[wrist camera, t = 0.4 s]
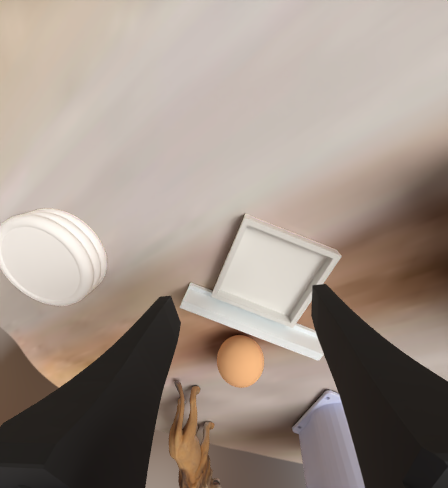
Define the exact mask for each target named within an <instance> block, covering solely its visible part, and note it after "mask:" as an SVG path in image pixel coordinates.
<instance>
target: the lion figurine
mask: <svg viewBox="0 0 448 488" xmlns="http://www.w3.org/2000/svg"><path fill="white" fill-rule="evenodd" d="M174 383H175V386H176V388H177V390H178V392H179V394H180V398H179V399H178V406H177V412H176V416H175V419H174V422H173V424H172V427H171V429H170V434H169V452H170V456H171V457H172V458H173V459H175V460H176V462H177V464H178V467H179V486H180V488H221V486H220V480H219V479H218V478H216V479H212V472H213V471H212V470H211V468H210V458H209V456H208V450H209V430H211V429H213V427H214V423H212V422H206V423H205V425H204V429H203V441H202V443H201V445H200V444H199V440H198V438H197V437H196V433H197V431H198V429H199V426H198V425H197V407H196V395H197V394H198V393H199V392H200V388H199V387H198V386H193V387H192V389H191V394H190V414H189V418H188V421H187V423H186V425H185V427H184V428H183V429H182V422H183V415H184V406H185V403H186V401H185V399H184V394H183V390H182V386H181V383H180V382H179V381H175V382H174Z"/></svg>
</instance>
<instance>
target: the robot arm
mask: <svg viewBox="0 0 448 488" xmlns="http://www.w3.org/2000/svg"><path fill="white" fill-rule="evenodd" d="M311 316H312V319H313V323H314V327H315V331H316V334H317V337H318V340H319V343H320V345H321V348H322V350H323V353H324V355H325V358H326V361H327V363H328V366H329V368H330V371H331V373H332V376H333V378H334V381H335V384H336V387H337V389H338V392H339V394H338V393H336V392H333V391H330V390H327V391H325V392H324V393H323V395H322V396H321V397H320V398H319V399H318V400H317V401H316V402H315V403H314V404H313V405H312V406H311V408H310V409H309V410H308V411H307V412H306V413H305V414H304V415H303V416H302V417H301V418H300V419H299V421H298V422H297V423H296V424H295V425H294V426H293V427H292V430H293V432H294V433H297V434H299V440H300V447H301V454H302V460H303V467H304V474H305V481H306V487H307V488H448V381H446V380H445V379H443V378H441V377H440V376H438V375H437V374H435V373H433V372H432V371H430V370H429V369H427V368H426V367H424V366H423V365H421V364H420V363H418V362H416V361H415V360H413V359H412V358H411V357H409V356H408V355H406V354H405V353H403V352H402V351H401V350H399V349H398V348H397V347H395V346H394V345H393V344H391V343H390V342H389V341H387V340H386V339H385V338H384V337H382V336H381V335H380V334H379V333H377V332H376V331H375V330H374V329H373V328H371V327H370V326H369V325H368V324H367V323H366V322H364V321H363V320H362V319H361V318H360V317H359V316H358V315H357V314H356V313H355V312H353V311H352V310H351V309H350V308H349V307H348V306H347V305H346V304H345V303H344V302H343V301H342V300H341V299H340V298H339V297H338V296H337V295H336V294H335V293H334V292H333V291H332V290H331V289H330V288H329V287H328V286H327V285H326V284H320V285H312V315H311ZM180 325H181V322H180V320H179V317H178V314H177V311H176V309H175V306H174V303H173V300H172V298H171V296H164V297H159V298H158V299H157V300H156V301H155V303H154V304H153V305H152V306H151V307H150V308H149V309H148V310H147V311H146V312H145V313H144V314H143V316H142V317H141V318H140V319H139V320H138V321H137V322H136V323H135V324H134V325H133V326H132V327H131V328H130V329H129V330H128V331H127V332H126V333H125V334H124V335H123V336H122V337H121V338H120V339H119V340H118V341H117V342H116V343H115V344H114V345H113V346H112V347H111V348H109V349H108V350H107V351H106V352H105V353H104V354H103V355H101V356H100V357H99V358H98V359H97V360H96V361H94V362H93V363H92V364H91V365H89V366H88V367H87V368H85V369H84V370H83V371H82V372H80V373H79V374H78V375H76V376H75V377H74V378H72V379H71V380H70V381H68V382H67V383H66V384H64V385H63V386H61V387H60V388H58V389H57V390H56V391H54V392H53V393H51V394H50V395H48V396H47V397H45V398H44V399H42V400H40V401H39V402H37V403H36V404H34V405H33V406H31V407H29V408H28V409H26V410H24V411H23V412H21V413H19V414H18V415H16V416H14V417H13V418H11V419H10V420H8V421H6V422H4V423H3V424H2V425H1V427H0V488H145V484H146V478H147V471H148V464H149V457H150V452H151V446H152V440H153V435H154V430H155V424H156V419H157V414H158V409H159V405H160V400H161V395H162V392H163V388H164V384H165V381H166V378H167V375H168V371H169V368H170V365H171V362H172V359H173V355H174V352H175V349H176V345H177V342H178V337H179V331H180Z"/></svg>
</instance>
